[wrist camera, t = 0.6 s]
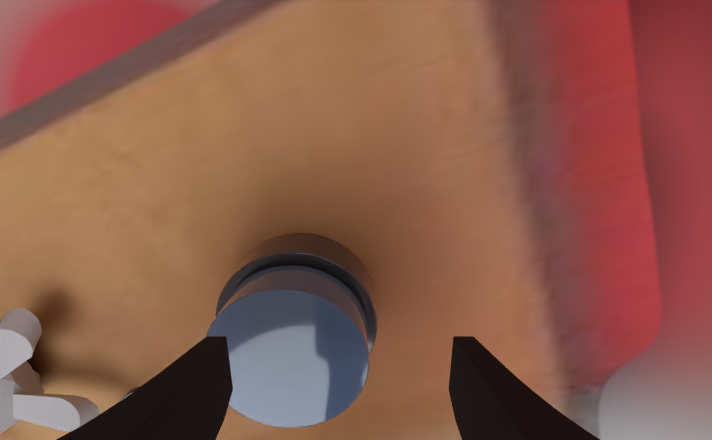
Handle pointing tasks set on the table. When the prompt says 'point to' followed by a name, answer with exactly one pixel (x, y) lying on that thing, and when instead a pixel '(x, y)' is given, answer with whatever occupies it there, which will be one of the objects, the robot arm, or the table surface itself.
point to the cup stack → (297, 330)
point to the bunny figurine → (32, 381)
